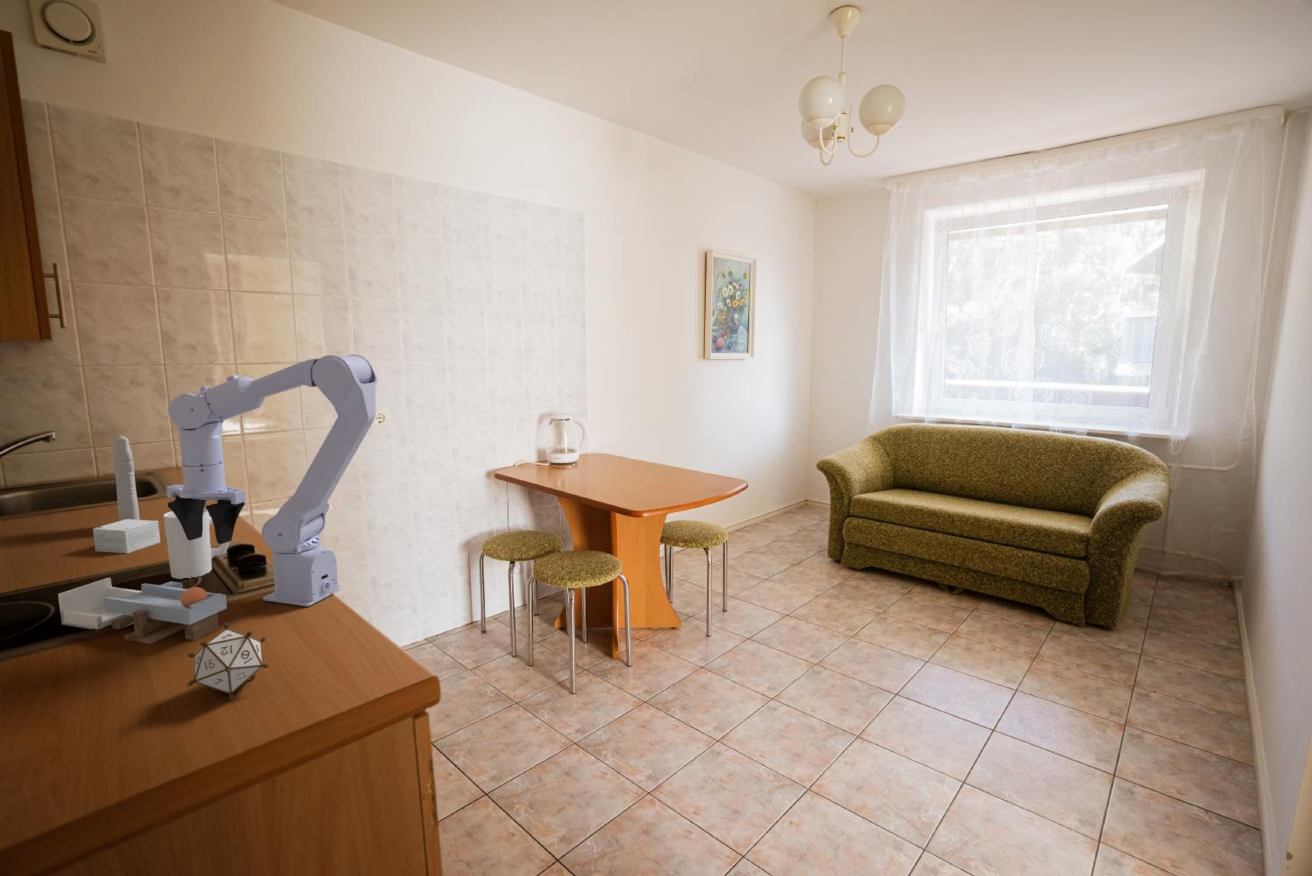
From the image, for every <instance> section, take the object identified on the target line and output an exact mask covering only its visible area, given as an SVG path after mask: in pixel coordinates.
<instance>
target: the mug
mask: <svg viewBox="0 0 1312 876" xmlns="http://www.w3.org/2000/svg"><path fill="white" fill-rule="evenodd" d="M163 519H164V530H165V537H166V544H167V545H166V546H167V552H168V553H167V554H168V561H169V570H170V576H171V578H172V577H173V578H172V579H175V578H176V580H184V579H183V578H189V579H194V577H195V578H199V577H202V576H205V574H206V575H207V573H208V574H210V573H211V572H212V571H211V570H212V569H213V568H212V567H213V565H212V559H213V558H214V557H216V556H222V555H224V554H226V553H227V549H228V547H229V545H230V542H231V541H229V542H226V543H223V544H220V546H219V547H212V546H211V531H210V529H211V528H210V527H211V525H214V524H213V521H212V518H211V516H210V514H209V512H208V511H207V509H206V507H204V511H203V533H202V537H200V538H197V539H194V540H188V539H187V537H186V535H185V532H184V530H183V528H182V525H181V523H180V521H179V520H178V518H177V517H176V515H175V514H174V513H173V511H172V510H171V511H168V512H165V513H164V514H163ZM210 571H211V572H210ZM209 572H210V573H209ZM198 576H199V577H198ZM191 577H193V578H191Z"/></svg>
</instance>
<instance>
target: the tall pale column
mask: <svg viewBox="0 0 1312 876" xmlns="http://www.w3.org/2000/svg"><path fill="white" fill-rule="evenodd" d="M112 448H113V449H112V459H113V468H114V476H115V477H114V478H115V485H116V497H117V498H116V500H117V510H118V519H119V521H122V520H126V519H133V520H141V519H140V510H139V502H138V501H139V500H138V495H137V485H136V477H135V463H134V457H133V455H134V454H133V452H132V449H131V445H130V441H129V439H128V438H127V437H126V436H124V435H121V434H119V435H114V438H113V447H112Z"/></svg>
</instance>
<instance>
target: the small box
mask: <svg viewBox="0 0 1312 876" xmlns="http://www.w3.org/2000/svg"><path fill="white" fill-rule="evenodd" d="M159 527H160V526H159V520H146V519H145V520H144V519H140V520H133V519H126V520H122V521H120V520H119V521H115V522H112V523H108V524H104V525H101V526H96V527H94V528H93V529H92V533H93V541H94V549H95V552H101V553H102V552H103V553H104V552H105V553H106V552H107V553H115V554H130V553H132V552H136V551H139V550H141V549H145V548H148V547H151V546H154V545H156V544H160V543H161V536H160V534H161V533H160V528H159Z"/></svg>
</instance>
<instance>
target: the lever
mask: <svg viewBox="0 0 1312 876" xmlns="http://www.w3.org/2000/svg"><path fill="white" fill-rule="evenodd" d="M183 585H184V584H183V582H178V581H168V582H165V583H163V584H153V583H145V582H144V583H141V587H140V589H141V591H142V592H140V593H137V594H135V595H132V596H129V597H126V598H124V599H123V598H116V597H109V596H108V597H105V598H104V603H105V611H106V612H111V613H118V614H124V615H131V616H133V612H134V611H137V610H142V611H147V618H150V619H156V620H163V621H169V622H175V623H182V624H188V625H190V624H192V623H195V622H197V621H199V620H201V619H204V618H206V617H208V616H210V615H213V614H215V613H217V612H218V613H219V612H221V611H223V610H226V609H227V608H228V605H227V595H226V594H223V593H216V592H211V591H210V592H209V591H206V593H207V598H206V599H204V600H202V601H199V602H197V603H194V604H192V605H190V606H189V608H186V607H184V606H183V605H182V603H181V596H182V594H183V593H184V592H185V591H186V590H187V589H188V588H187V589H186V588H183V587H184V586H183Z"/></svg>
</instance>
